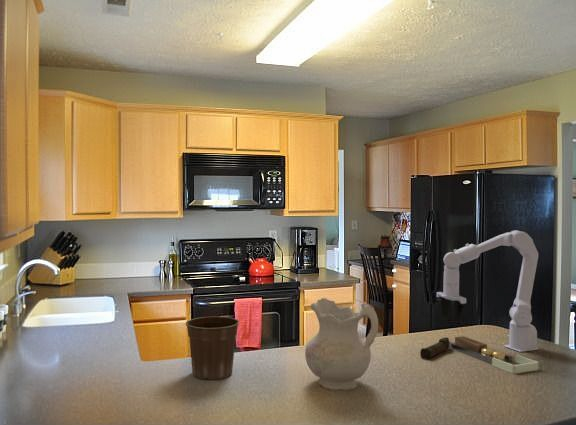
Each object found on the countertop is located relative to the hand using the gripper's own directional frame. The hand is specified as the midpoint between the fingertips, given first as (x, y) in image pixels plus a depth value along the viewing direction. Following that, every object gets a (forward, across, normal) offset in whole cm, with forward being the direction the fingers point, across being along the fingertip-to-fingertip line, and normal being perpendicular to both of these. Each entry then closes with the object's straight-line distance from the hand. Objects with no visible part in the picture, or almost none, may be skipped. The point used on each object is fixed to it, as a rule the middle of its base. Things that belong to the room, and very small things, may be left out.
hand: (450, 318), depth 200 cm
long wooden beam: (+10, +11, 0) cm, 15 cm away
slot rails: (+9, +14, 0) cm, 17 cm away
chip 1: (+10, +20, 0) cm, 22 cm away
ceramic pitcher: (+10, +25, -62) cm, 68 cm away
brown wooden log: (+10, +9, -14) cm, 19 cm away
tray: (+9, +31, 0) cm, 33 cm away
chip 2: (+10, +24, 0) cm, 26 cm away
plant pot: (+10, +3, -95) cm, 96 cm away
